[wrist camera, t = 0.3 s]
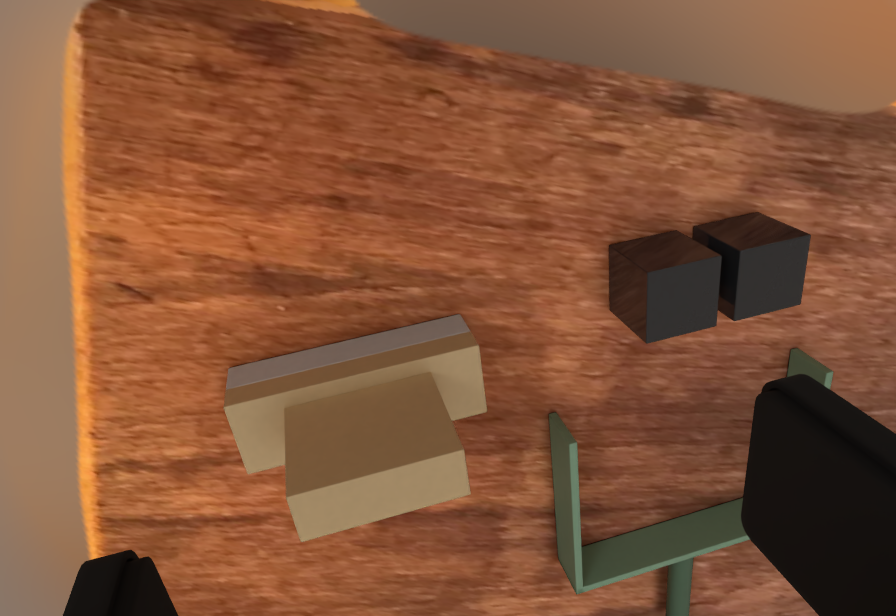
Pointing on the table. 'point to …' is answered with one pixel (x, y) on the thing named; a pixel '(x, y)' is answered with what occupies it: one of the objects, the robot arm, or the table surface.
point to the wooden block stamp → (361, 422)
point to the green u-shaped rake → (652, 543)
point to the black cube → (664, 285)
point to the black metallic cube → (756, 263)
